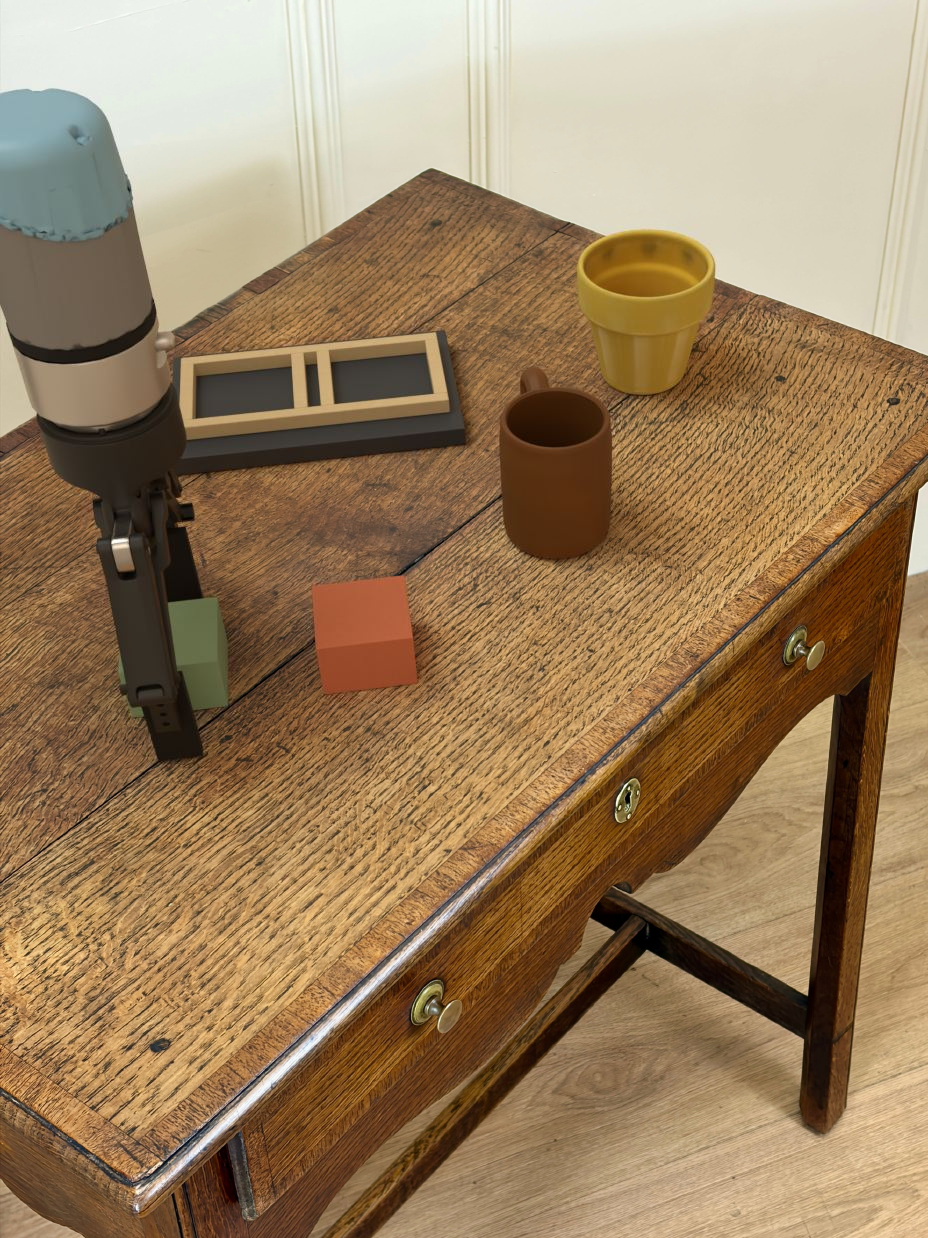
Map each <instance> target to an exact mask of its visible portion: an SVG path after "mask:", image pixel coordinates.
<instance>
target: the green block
mask: <svg viewBox="0 0 928 1238" xmlns="http://www.w3.org/2000/svg"><path fill="white" fill-rule="evenodd" d="M168 609H169V616H170V623H171V630H172V637H173V644H174V651H175V658H176V665H177V671H182V672H183V676H184V679H185V683H186V687H187V690H188V694H189V697H190V701H191V705H192V708H193V711H199V710H208V709H216V708H223V707H228V706H229V641H228V636H227V632H226V629H225V624H224V619H223V615H222V611H221V608H220V602H219V597H217V596H214V597H205V598H204V599H195V600H186V601H177V602H169V603H168ZM118 650H119V649H118ZM117 665H118V668H117V675H118V677H119V680H120V683H121V684H120V685H123V684H126V681H125V676H124V671H123V666H122V661H121V656H120V650H119V653H118V664H117ZM124 696H125V700H126V702H127V706H128V709H129V713H130V715H131V718H133V719H134V718H141V717H143V718H144V714H143V711H142V708H141V707H135V708H132V707H131V706H130V705H129V702H128V700H127V695H124Z"/></svg>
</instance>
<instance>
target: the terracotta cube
mask: <svg viewBox="0 0 928 1238" xmlns="http://www.w3.org/2000/svg"><path fill="white" fill-rule="evenodd" d="M311 598H312V610H313V611H312V614H313V628H314V643H315V652H316V659H317V663H318V671H319V675H320V682H321V686H322V693H323V695H334V694H341V693H348V692H357V691H366V690H375V689H381V688H390V687H398V686H399V687H400V686H407V685H414V684H418V683H419V679H418V678H419V677H418V671H417V660H416V652H415V644H414V643H415V641H414V633H413V627H412V621H411V612H410V607H409V606H410V605H409V598H408V591H407V583H406V576H405V575H404V574H403V575H395V576H387V577H385V576H384V577H377V578H369V579H361V580H351V581H341V582H333V583H325V584H316V585H311Z"/></svg>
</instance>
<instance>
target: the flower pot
mask: <svg viewBox="0 0 928 1238" xmlns="http://www.w3.org/2000/svg"><path fill="white" fill-rule="evenodd" d="M576 264H577V266H576V286H577V287H576V288H577V289H576V290H577V299H578V300H577V301H578V306H579V308H580V310H581V312H582V314H583V315H584V316H585V317H586V318H587V320H588V322H589V327H590V330H591V335H592V338H593V342H594V343H593V344H594V347H595V351H596V355H597V358H598V363H599V367H600V368H599V369H600V372H601V376H602V378H603V380H604V381H605V383H606V384H608V385H609V386H610V387H611V388H613V389H615V390H617V391H619V392H620V393H625V394H629V395H636V396H648V395H655V394H661V393H663V392H665V391H666V392H667V391H668V390H670V389H672V388H673V387H675V386H676V385H678V384H679V383H680V382H681V381H682V379H683V377H684V375H685V373H686V370H687V366H688V363H689V360H690V356H691V353H692V350H693V346H694V343H695V340H696V337H697V333H698V330H699V327H700V324H701V321H702V320H703V319H704V318H706V316H707V315H708V314H709V313H710V310H711V308H712V305H713V299H714V292H715V281H716V261H715V258H714V256H713V254H712V253H711V252H710V250H709V249H708V248H707V247H706V246H705V245H704V244H702V243H701V242H699V241H698V240H695V239H694V238H692V237H690V236H687V235H684V234H683V233H682V234H681V233H678V232H675V231H670V230H664V229H654V228H653V229H648V228H647V229H642V228H641V229H631V230H624V231H623V230H622V231H619V232H615V233H612V234H608V235H605V236H604V237H601V238H599V239H597V240H595V241H593V242H592V243H590V244H589V245H588V246H586V248H584V250H583V251H582V252H581V254H580V256H579V257H578V260H577V263H576Z"/></svg>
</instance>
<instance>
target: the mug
mask: <svg viewBox="0 0 928 1238" xmlns="http://www.w3.org/2000/svg"><path fill="white" fill-rule="evenodd" d="M519 377H520V379H519V395H517V396H516V397H515V398H513V399H512V400H510V401H509V402H508V403H507V404H506V405H505V407H504V409H503V410H502V412H501V415H500V418H499V437H498V441H499V442H498V444H499V445H498V451H499V471H500V472H499V473H500V490H501V503H502V504H501V505H502V519H503V520H502V521H503V526H504V529H505V533H506V535H507V537H508V538H509V540H510V541H511V542H512V543H513V545H514V546H515V547H517V548H518V549H519V550H521V551H523V552H524V553H526V554H529V555H531V556H534V557H539V558H544V559H554V560H557V559H559V560H560V559H569V558H574V557H578V556H581V555H583V554H587V553H588V552H590V551H592V550H593V549H595V548H596V547H597V546H598V545H599V544H600V543H602V541H603V540H604V538H605V537H606V536H607V533H608V532H609V528H610V524H611V516H612V515H611V514H612V510H611V509H612V485H613V483H612V482H613V481H612V480H613V479H612V477H613V435H612V421H611V414H610V411H609V410H608V408H607V406H606V404H605V403H604V402H603V401H602V400H600V399H599V398H598V397H596V396H595V395H593V394H591V393H589V392H587V391H583V390H582V389H576V388H572V387H565V386H563V387H562V386H553V387H552V386H550V383H549V379H548V377H547V375H546V373H545V372H544V371H543V370H542V368H540V367H538V366H533V365H531V366H527V367H526V368H525V369H524V370H523V371H522V373H521V375H520V376H519Z"/></svg>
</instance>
